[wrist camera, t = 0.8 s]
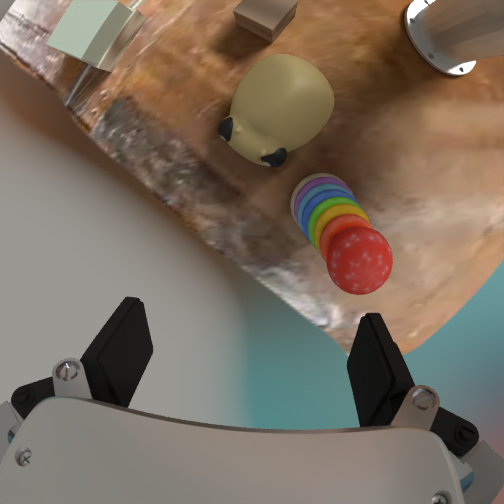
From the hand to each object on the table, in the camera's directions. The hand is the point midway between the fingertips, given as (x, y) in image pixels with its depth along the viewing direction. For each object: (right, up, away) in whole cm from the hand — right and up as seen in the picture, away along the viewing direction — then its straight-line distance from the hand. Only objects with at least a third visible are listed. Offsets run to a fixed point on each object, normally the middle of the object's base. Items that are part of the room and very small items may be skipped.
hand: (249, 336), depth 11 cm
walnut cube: (+2, +32, +14) cm, 35 cm away
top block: (-20, +32, +12) cm, 39 cm away
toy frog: (+3, +20, +19) cm, 28 cm away
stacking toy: (+9, +10, +24) cm, 27 cm away
